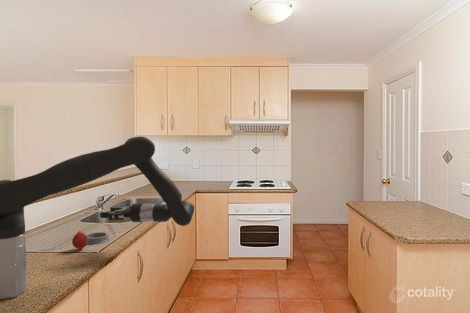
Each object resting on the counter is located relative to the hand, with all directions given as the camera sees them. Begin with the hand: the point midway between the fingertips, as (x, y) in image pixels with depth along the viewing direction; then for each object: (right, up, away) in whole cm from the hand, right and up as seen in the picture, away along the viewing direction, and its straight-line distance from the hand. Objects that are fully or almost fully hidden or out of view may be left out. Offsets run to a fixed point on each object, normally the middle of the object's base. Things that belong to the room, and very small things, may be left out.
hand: (105, 212), depth 132 cm
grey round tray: (-10, -15, +14) cm, 23 cm away
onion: (-11, -16, +2) cm, 20 cm away
